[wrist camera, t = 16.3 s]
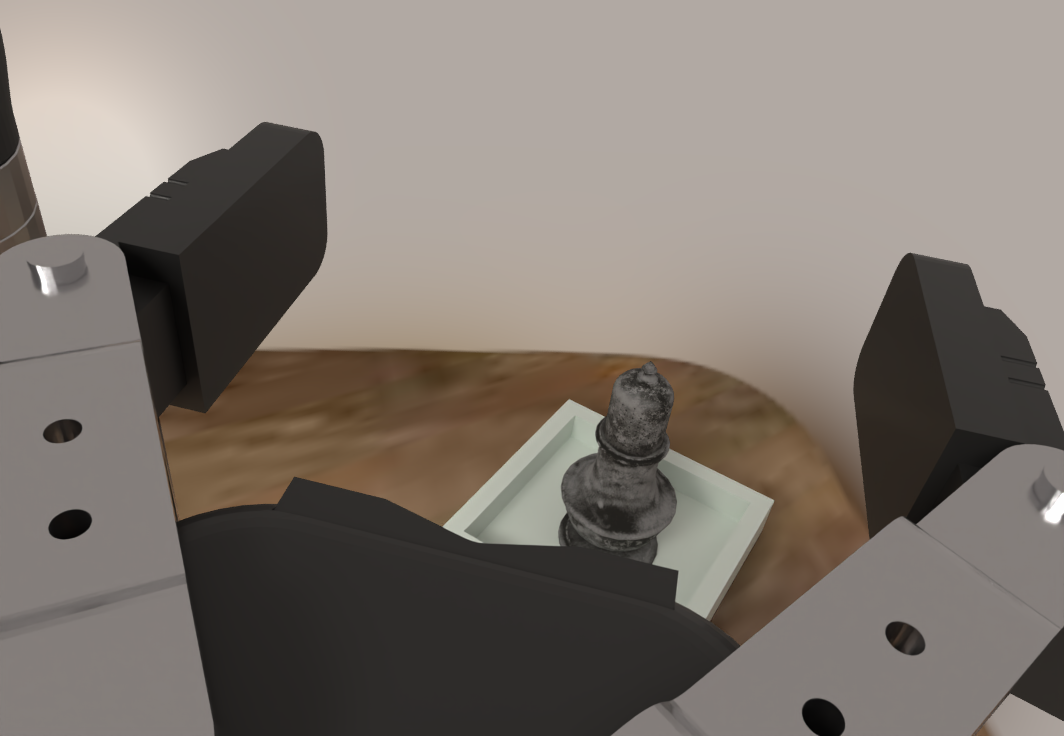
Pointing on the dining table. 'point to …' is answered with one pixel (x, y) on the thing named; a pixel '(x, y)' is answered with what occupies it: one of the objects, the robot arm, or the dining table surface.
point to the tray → (685, 544)
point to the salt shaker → (623, 473)
